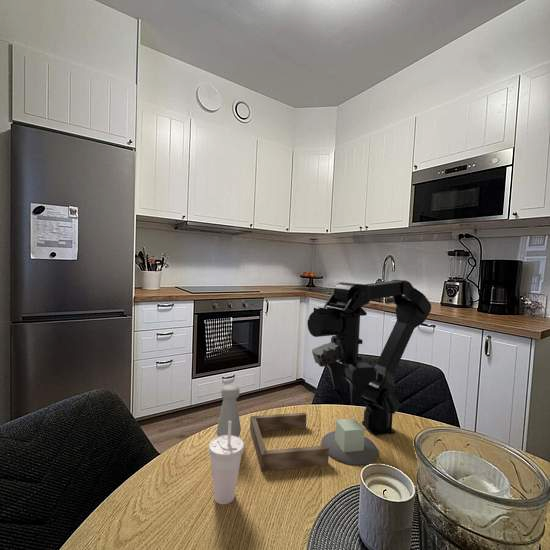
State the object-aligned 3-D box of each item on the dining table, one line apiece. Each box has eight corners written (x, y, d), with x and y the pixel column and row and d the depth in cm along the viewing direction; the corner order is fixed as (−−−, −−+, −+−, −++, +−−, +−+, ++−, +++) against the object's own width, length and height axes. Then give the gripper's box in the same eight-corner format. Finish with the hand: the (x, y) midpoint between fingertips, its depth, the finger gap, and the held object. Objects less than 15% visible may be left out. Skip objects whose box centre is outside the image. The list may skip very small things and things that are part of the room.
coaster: (360, 431, 81) (360, 429, 81) (389, 461, 68) (389, 459, 68) (313, 434, 78) (313, 432, 78) (334, 467, 65) (334, 465, 65)
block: (353, 438, 76) (354, 418, 76) (363, 450, 71) (364, 429, 71) (334, 440, 75) (335, 420, 75) (343, 452, 70) (344, 430, 70)
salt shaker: (238, 448, 71) (240, 392, 71) (213, 446, 71) (216, 391, 71) (241, 434, 77) (243, 383, 76) (218, 433, 77) (221, 381, 77)
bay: (304, 425, 83) (305, 412, 82) (328, 464, 67) (329, 448, 66) (249, 429, 79) (250, 416, 79) (260, 471, 63) (261, 454, 63)
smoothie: (226, 516, 51) (229, 434, 51) (198, 499, 55) (201, 422, 55) (249, 493, 57) (252, 418, 57) (222, 479, 60) (225, 409, 60)
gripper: (303, 326, 83) (300, 383, 83) (334, 344, 65) (330, 417, 65) (341, 326, 86) (338, 381, 86) (380, 342, 67) (376, 413, 68)
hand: (344, 396), depth 76 cm, fingers open, 9 cm apart
